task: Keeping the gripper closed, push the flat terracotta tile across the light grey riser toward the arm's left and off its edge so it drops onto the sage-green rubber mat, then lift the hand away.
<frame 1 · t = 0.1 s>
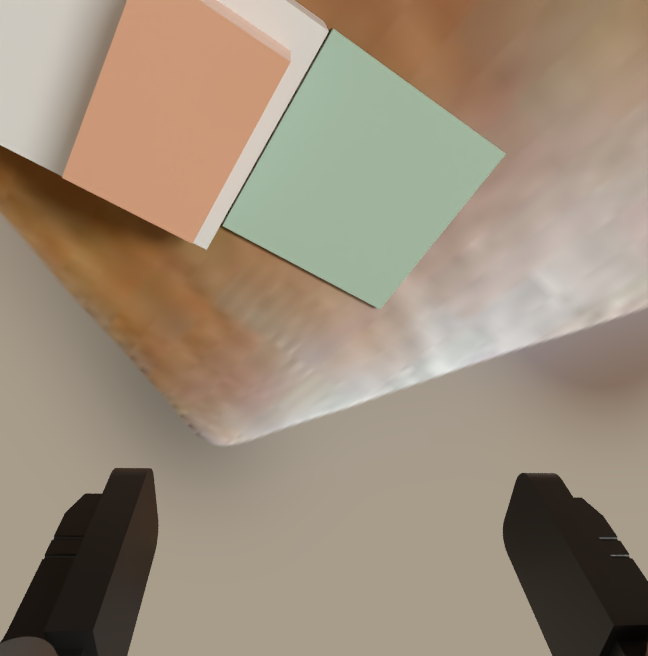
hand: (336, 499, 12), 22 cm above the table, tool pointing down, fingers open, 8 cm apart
green mat: (359, 188, 31), on the table
grey riser: (159, 64, 27), on the table
terracotta tile: (177, 113, 23), point 5 cm above the table, touching grey riser
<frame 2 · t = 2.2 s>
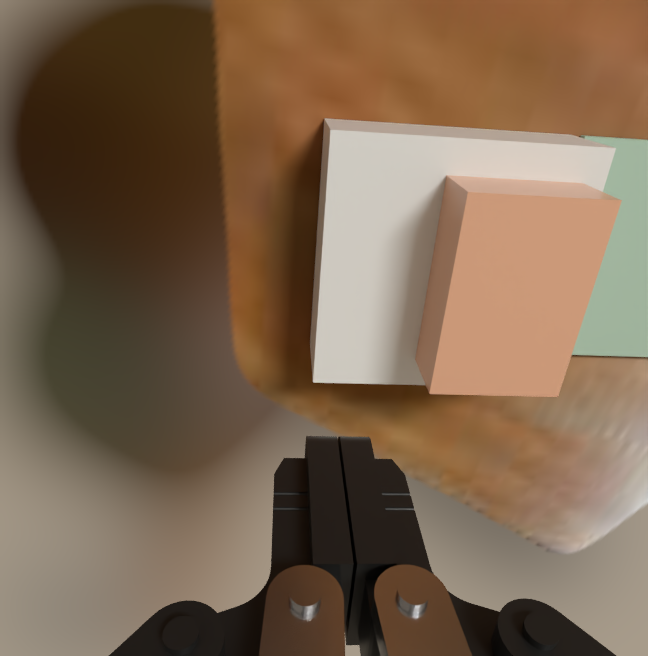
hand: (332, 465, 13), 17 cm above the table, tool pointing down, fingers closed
grey riser: (430, 247, 28), on the table
terracotta tile: (504, 290, 23), point 5 cm above the table, touching grey riser
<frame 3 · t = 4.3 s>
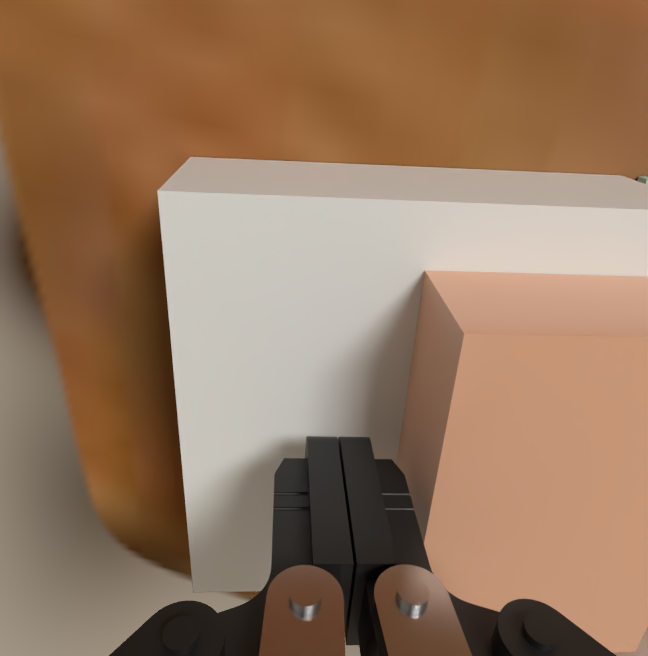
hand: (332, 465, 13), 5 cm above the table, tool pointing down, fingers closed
grey riser: (389, 356, 17), on the table
terracotta tile: (537, 474, 13), point 6 cm above the table, touching gripper
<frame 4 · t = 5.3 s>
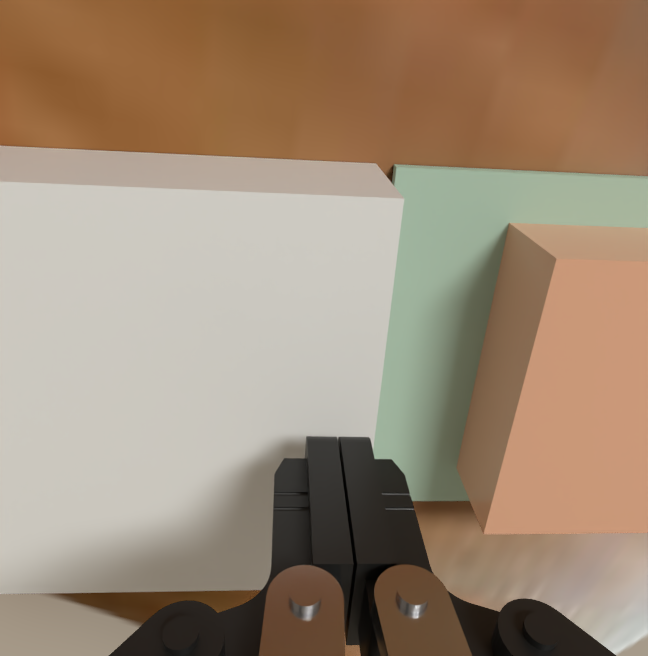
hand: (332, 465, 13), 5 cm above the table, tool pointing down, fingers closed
green mat: (543, 357, 18), on the table
grey riser: (168, 350, 17), on the table
terracotta tile: (592, 386, 16), point 2 cm above the table, tilted 180°, touching green mat
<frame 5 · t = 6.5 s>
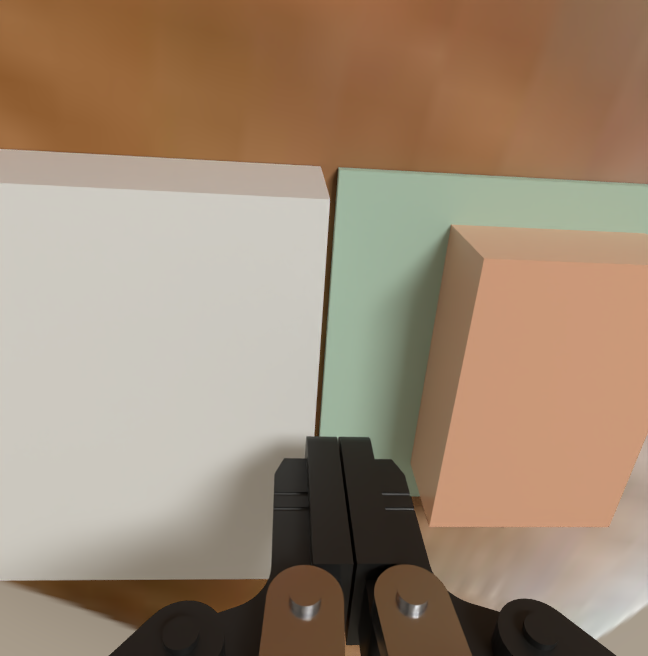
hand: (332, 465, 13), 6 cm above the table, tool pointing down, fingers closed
green mat: (492, 356, 18), on the table
grey riser: (125, 346, 17), on the table
terracotta tile: (534, 383, 17), point 2 cm above the table, tilted 180°, touching green mat
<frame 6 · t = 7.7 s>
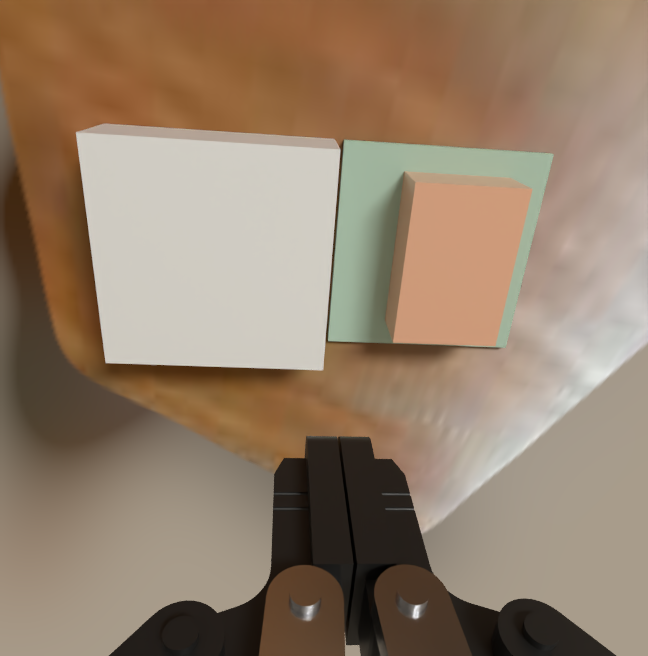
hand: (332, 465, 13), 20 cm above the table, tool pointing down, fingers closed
green mat: (431, 252, 32), on the table
grey riser: (222, 241, 31), on the table
terracotta tile: (451, 261, 30), point 2 cm above the table, tilted 180°, touching green mat
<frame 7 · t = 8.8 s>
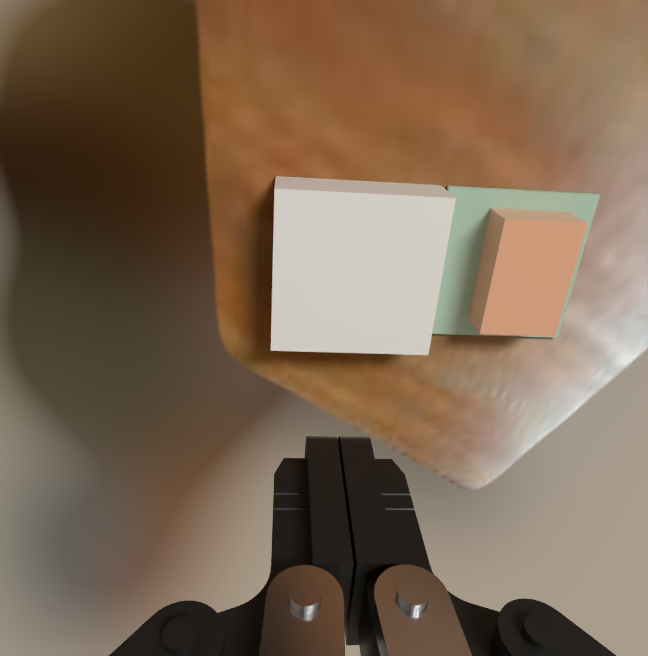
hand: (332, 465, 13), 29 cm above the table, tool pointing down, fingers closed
green mat: (505, 266, 42), on the table
grey riser: (351, 259, 41), on the table
terracotta tile: (523, 273, 40), point 2 cm above the table, tilted 180°, touching green mat
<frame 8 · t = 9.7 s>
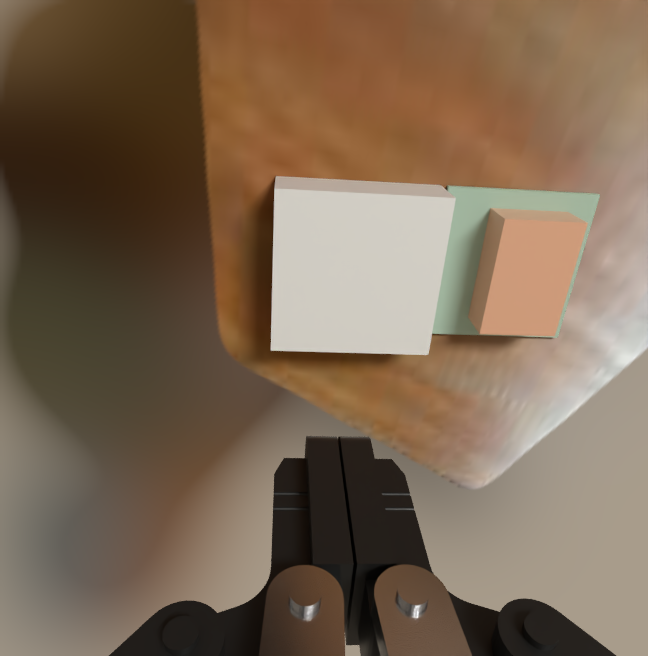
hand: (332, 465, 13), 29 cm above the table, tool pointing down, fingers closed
green mat: (505, 266, 42), on the table
grey riser: (351, 259, 41), on the table
terracotta tile: (523, 273, 40), point 2 cm above the table, tilted 180°, touching green mat
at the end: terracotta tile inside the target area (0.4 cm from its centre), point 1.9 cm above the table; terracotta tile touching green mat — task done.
